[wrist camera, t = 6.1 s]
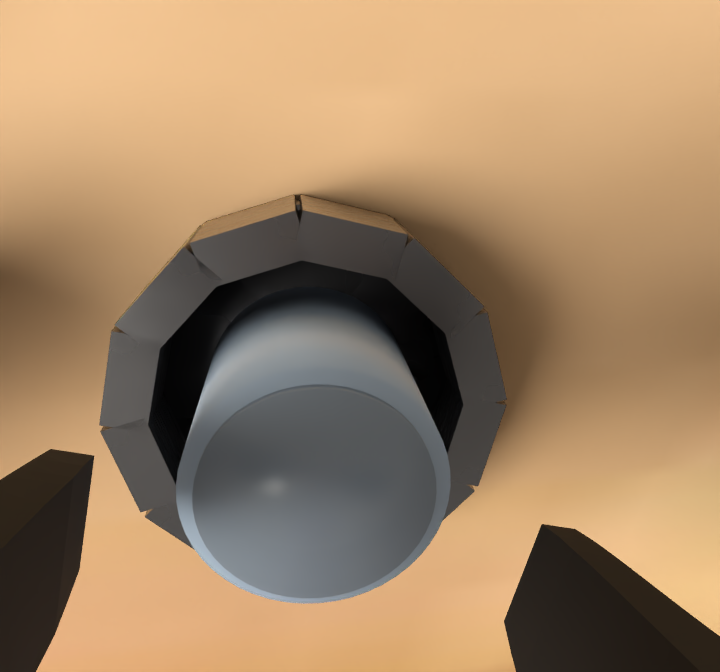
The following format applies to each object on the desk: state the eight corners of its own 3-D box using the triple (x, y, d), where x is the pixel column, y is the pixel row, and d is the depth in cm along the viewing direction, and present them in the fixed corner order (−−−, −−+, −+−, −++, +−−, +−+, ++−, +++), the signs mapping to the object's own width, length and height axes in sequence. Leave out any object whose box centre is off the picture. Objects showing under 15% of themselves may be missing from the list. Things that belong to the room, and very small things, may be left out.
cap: (374, 477, 17) (409, 626, 12) (194, 445, 16) (152, 592, 11) (426, 311, 15) (489, 403, 11) (231, 266, 15) (202, 344, 10)
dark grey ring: (420, 532, 19) (440, 595, 16) (112, 487, 17) (83, 549, 15) (513, 244, 16) (553, 268, 13) (158, 160, 14) (132, 170, 12)
